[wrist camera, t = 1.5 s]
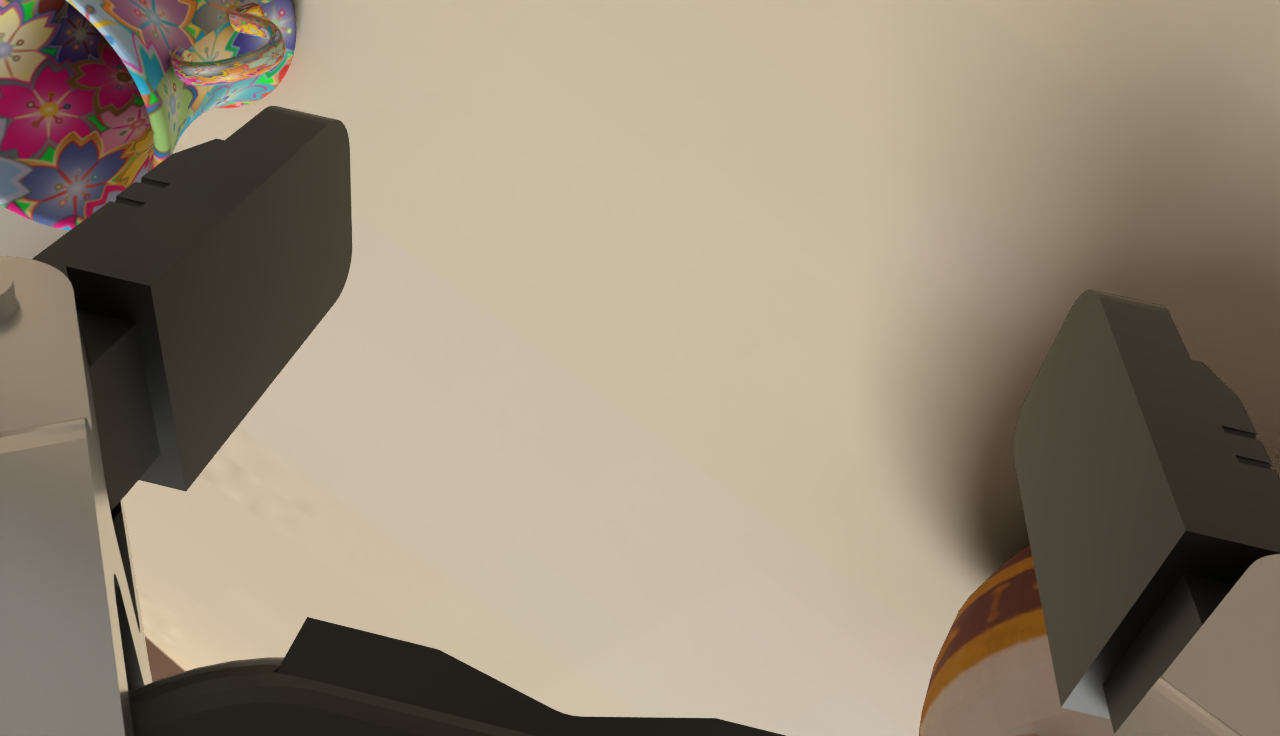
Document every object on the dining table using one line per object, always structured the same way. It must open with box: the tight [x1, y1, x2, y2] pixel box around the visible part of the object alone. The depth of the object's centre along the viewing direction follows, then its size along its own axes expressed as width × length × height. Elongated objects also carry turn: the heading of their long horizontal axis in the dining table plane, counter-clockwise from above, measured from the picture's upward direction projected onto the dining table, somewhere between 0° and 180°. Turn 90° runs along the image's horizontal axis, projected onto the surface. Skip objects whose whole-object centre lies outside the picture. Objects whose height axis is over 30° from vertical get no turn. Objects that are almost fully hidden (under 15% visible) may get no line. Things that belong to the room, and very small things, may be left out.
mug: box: [0, 0, 296, 230], centre depth 35 cm, size 12×9×11 cm
